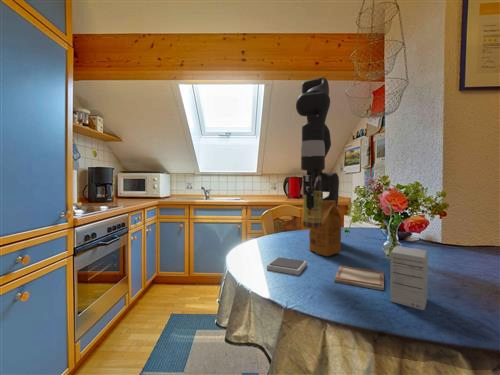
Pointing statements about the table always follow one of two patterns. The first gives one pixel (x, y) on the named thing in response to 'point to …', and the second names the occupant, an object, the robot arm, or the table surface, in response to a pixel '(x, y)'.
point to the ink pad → (287, 265)
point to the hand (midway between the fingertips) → (312, 206)
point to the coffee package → (327, 231)
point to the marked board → (360, 277)
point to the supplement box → (409, 277)
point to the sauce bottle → (314, 215)
